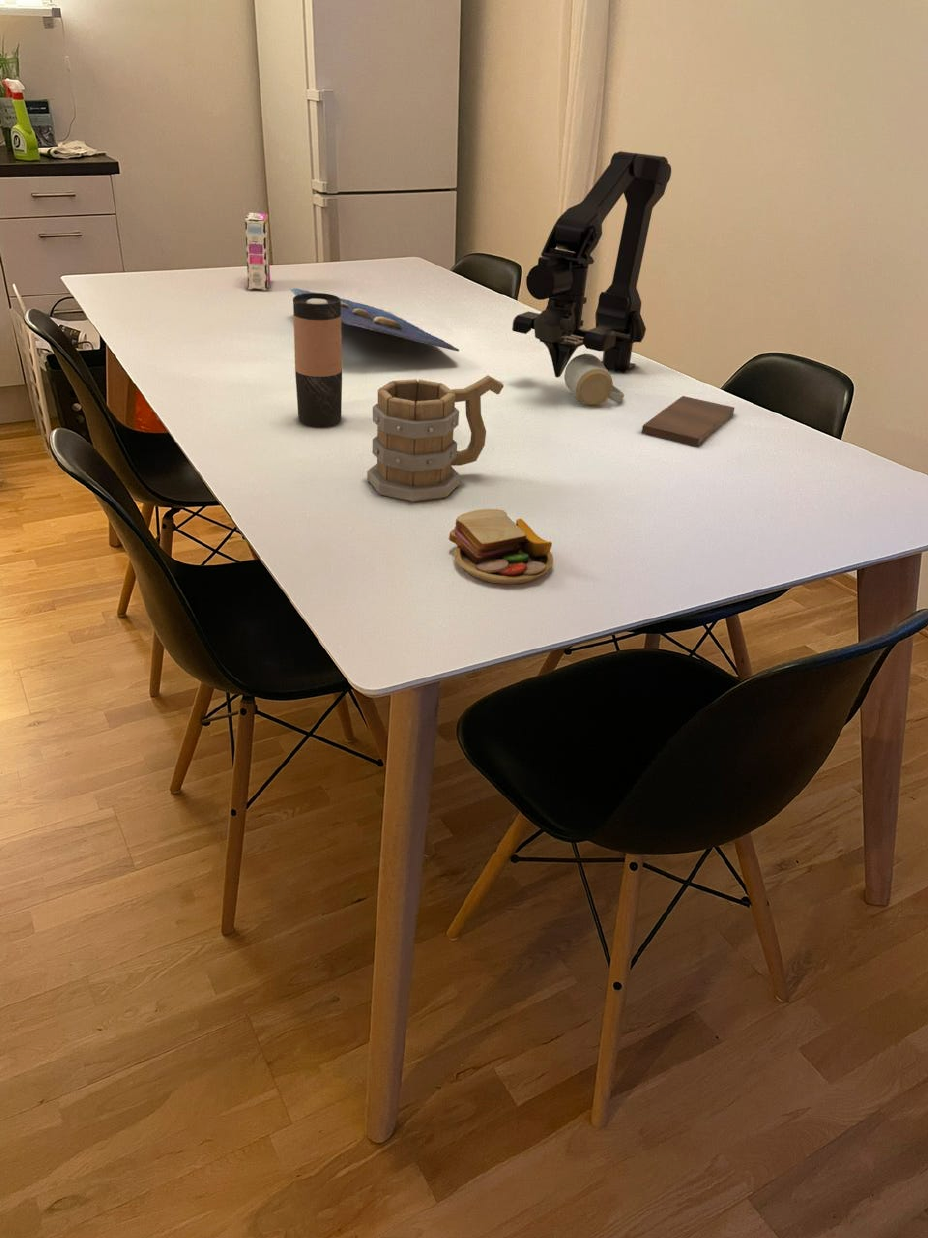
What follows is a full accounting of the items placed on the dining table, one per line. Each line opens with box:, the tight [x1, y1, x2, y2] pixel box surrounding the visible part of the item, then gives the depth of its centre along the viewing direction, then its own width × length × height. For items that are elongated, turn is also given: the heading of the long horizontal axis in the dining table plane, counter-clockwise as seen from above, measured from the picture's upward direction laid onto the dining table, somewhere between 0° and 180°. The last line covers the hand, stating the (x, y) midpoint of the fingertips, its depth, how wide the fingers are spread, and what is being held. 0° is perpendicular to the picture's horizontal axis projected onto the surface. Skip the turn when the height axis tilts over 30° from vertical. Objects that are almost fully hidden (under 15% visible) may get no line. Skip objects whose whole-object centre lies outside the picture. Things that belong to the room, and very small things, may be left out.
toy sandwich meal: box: [448, 508, 554, 585], centre depth 120 cm, size 12×14×5 cm
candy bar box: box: [244, 212, 271, 292], centre depth 235 cm, size 11×5×16 cm, turn 6°
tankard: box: [366, 375, 505, 503], centre depth 138 cm, size 20×13×15 cm, turn 114°
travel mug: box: [292, 292, 343, 429], centre depth 155 cm, size 8×8×20 cm
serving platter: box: [290, 287, 460, 352], centre depth 202 cm, size 45×27×12 cm, turn 25°
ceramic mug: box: [564, 353, 625, 406], centre depth 175 cm, size 11×8×8 cm
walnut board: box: [641, 395, 735, 448], centre depth 169 cm, size 20×10×2 cm, turn 149°
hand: (557, 376), depth 179 cm, fingers closed
